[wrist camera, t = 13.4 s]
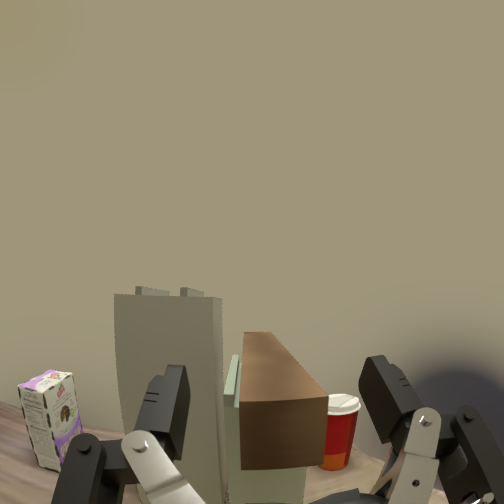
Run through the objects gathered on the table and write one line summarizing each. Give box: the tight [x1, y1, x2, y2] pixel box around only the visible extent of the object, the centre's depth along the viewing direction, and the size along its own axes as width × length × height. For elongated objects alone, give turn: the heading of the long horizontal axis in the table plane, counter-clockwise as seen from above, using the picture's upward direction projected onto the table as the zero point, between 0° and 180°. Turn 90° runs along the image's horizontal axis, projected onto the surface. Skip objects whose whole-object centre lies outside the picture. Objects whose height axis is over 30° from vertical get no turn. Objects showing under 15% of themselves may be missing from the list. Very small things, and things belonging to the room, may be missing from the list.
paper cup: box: [319, 394, 361, 471], centre depth 38 cm, size 8×8×14 cm
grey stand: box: [114, 286, 227, 504], centre depth 33 cm, size 12×12×33 cm
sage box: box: [223, 355, 307, 504], centre depth 22 cm, size 6×15×25 cm, turn 1°
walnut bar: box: [239, 332, 329, 470], centre depth 22 cm, size 4×26×4 cm, turn 1°
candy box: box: [18, 370, 83, 473], centre depth 31 cm, size 14×6×16 cm, turn 13°
